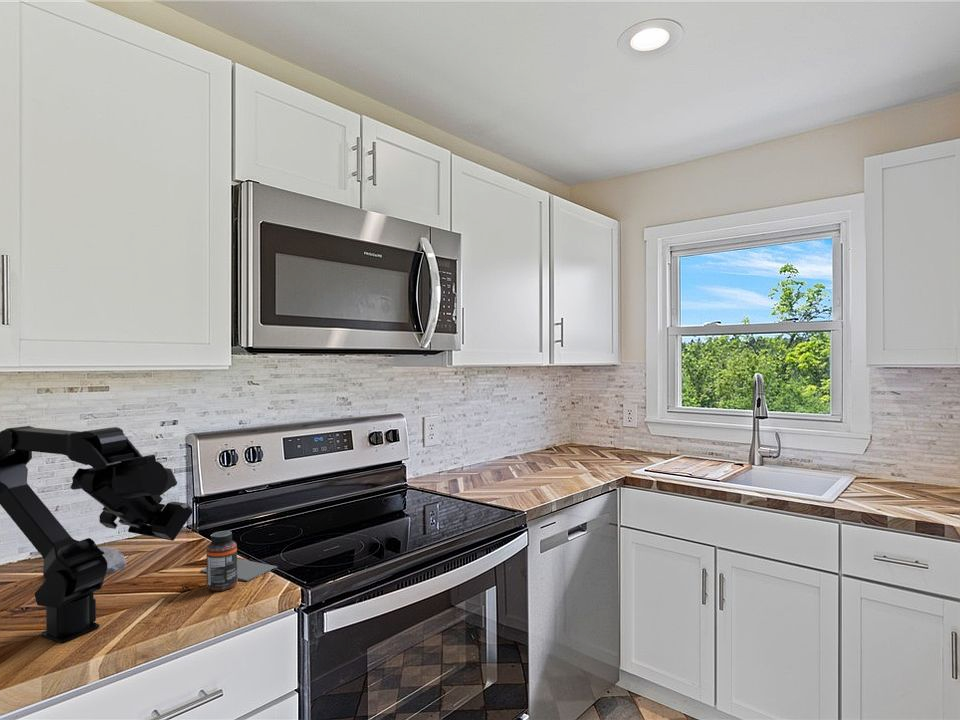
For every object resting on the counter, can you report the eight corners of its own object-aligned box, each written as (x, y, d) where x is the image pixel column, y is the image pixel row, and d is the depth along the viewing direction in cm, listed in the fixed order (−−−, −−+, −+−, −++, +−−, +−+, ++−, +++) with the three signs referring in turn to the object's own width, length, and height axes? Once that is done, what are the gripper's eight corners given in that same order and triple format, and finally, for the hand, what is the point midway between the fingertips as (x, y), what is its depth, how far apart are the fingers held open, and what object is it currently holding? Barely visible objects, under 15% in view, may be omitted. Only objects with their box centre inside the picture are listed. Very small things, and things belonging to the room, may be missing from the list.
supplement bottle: (217, 580, 128) (217, 528, 128) (242, 581, 127) (242, 529, 127) (200, 591, 122) (200, 537, 122) (227, 593, 122) (227, 538, 121)
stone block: (130, 575, 136) (107, 559, 141) (132, 556, 135) (108, 540, 140) (73, 595, 126) (50, 577, 131) (75, 574, 125) (52, 557, 130)
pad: (247, 581, 127) (247, 580, 127) (200, 572, 133) (200, 570, 133) (277, 568, 136) (277, 566, 136) (232, 559, 141) (232, 557, 141)
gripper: (183, 459, 105) (232, 507, 115) (114, 452, 113) (166, 497, 123) (142, 515, 98) (199, 559, 108) (72, 503, 106) (130, 546, 116)
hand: (173, 538), depth 114 cm, fingers closed
